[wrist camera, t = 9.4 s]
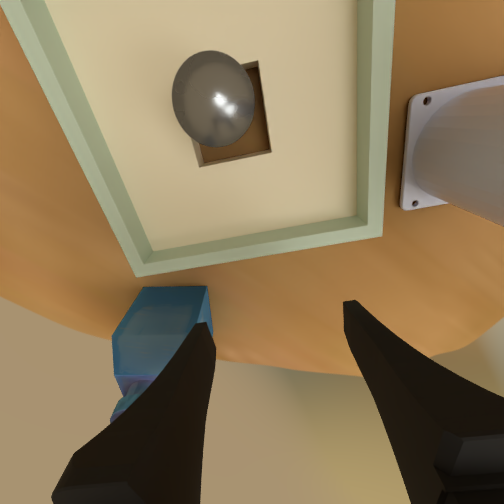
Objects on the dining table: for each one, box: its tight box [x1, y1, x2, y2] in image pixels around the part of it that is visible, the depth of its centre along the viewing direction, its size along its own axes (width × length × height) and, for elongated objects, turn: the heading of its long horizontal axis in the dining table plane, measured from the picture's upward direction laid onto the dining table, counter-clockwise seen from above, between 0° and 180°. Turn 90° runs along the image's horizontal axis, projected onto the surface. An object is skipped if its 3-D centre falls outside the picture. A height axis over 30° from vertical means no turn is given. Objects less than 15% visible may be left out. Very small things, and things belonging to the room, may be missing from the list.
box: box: [0, 0, 395, 278], centre depth 16 cm, size 18×18×4 cm
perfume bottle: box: [110, 286, 213, 423], centre depth 20 cm, size 6×6×12 cm
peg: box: [172, 50, 255, 147], centre depth 14 cm, size 4×4×7 cm
